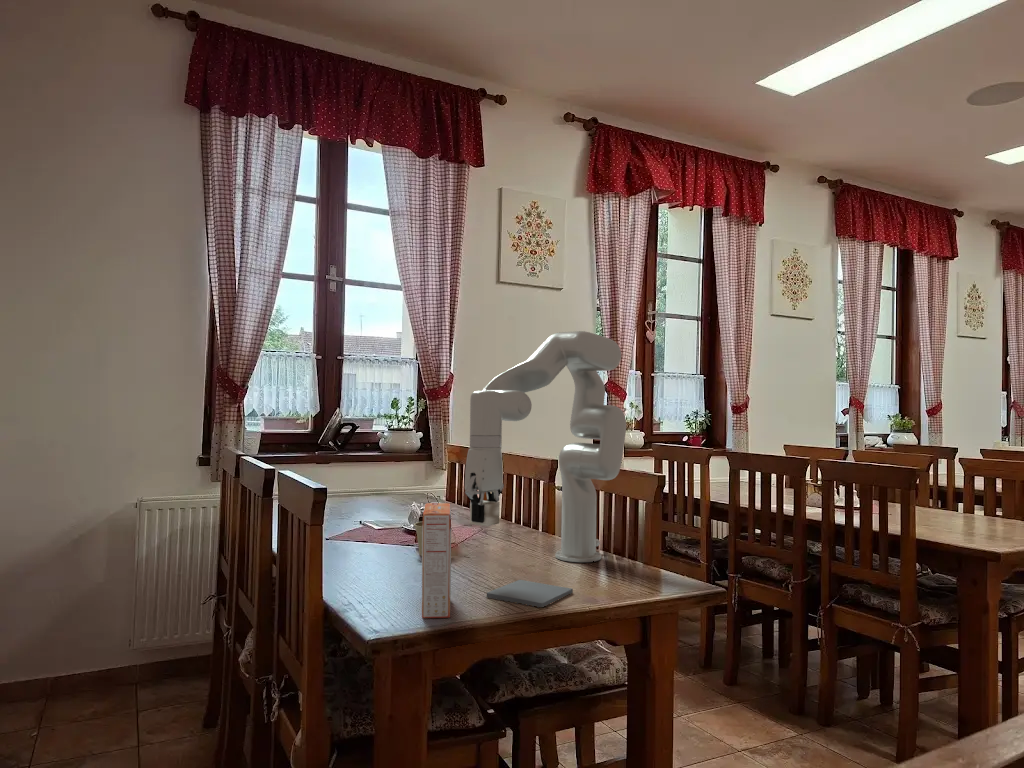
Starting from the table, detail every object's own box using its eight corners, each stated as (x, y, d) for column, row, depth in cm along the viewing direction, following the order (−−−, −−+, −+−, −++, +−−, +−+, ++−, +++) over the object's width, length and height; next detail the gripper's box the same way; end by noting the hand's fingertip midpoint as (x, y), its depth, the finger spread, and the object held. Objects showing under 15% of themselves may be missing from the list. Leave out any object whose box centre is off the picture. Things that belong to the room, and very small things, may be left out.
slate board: (519, 583, 170) (519, 579, 170) (572, 593, 163) (572, 588, 163) (486, 597, 159) (486, 592, 159) (542, 608, 151) (542, 603, 151)
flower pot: (406, 556, 197) (407, 525, 197) (423, 550, 206) (424, 519, 206) (437, 560, 193) (438, 527, 194) (453, 553, 202) (453, 522, 202)
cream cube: (481, 521, 174) (482, 500, 174) (499, 523, 171) (499, 502, 171) (469, 524, 169) (470, 502, 169) (487, 526, 167) (487, 504, 167)
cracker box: (422, 599, 156) (424, 502, 157) (450, 599, 157) (452, 502, 157) (419, 619, 142) (421, 512, 143) (450, 619, 143) (452, 512, 143)
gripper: (492, 440, 180) (491, 513, 179) (451, 444, 165) (450, 523, 165) (517, 441, 176) (517, 516, 176) (478, 445, 161) (477, 527, 161)
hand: (484, 519), depth 170 cm, fingers closed on cream cube, 4 cm apart
